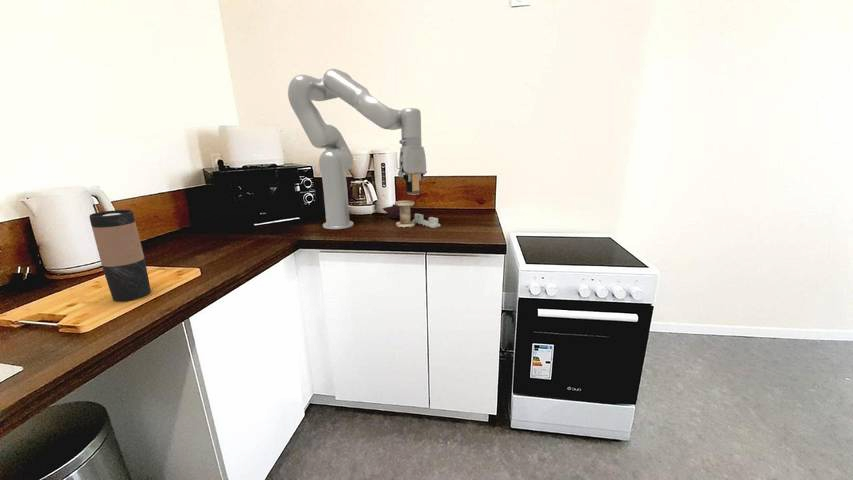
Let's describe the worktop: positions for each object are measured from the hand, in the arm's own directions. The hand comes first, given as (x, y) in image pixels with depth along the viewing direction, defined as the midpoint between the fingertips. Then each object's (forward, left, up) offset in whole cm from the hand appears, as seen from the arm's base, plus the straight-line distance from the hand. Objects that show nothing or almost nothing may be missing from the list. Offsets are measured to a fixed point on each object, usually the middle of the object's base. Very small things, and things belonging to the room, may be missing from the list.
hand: (413, 190), depth 140 cm
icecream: (-22, +6, -16) cm, 27 cm away
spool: (-7, +1, -16) cm, 17 cm away
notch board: (-3, +9, -16) cm, 18 cm away
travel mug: (+7, -90, -16) cm, 91 cm away
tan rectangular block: (0, 0, -1) cm, 1 cm away
